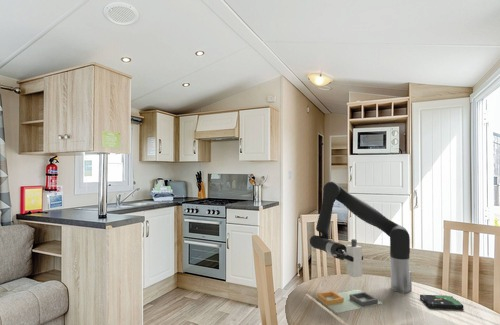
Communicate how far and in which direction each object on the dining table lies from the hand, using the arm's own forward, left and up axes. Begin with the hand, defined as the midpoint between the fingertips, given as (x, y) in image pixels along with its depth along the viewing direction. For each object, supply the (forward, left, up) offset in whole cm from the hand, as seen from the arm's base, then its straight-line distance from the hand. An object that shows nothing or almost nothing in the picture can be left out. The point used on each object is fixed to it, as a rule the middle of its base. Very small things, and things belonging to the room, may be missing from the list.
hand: (357, 258), depth 142 cm
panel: (+3, -4, -22) cm, 22 cm away
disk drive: (-37, +13, -23) cm, 45 cm away
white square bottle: (0, -3, -8) cm, 9 cm away
